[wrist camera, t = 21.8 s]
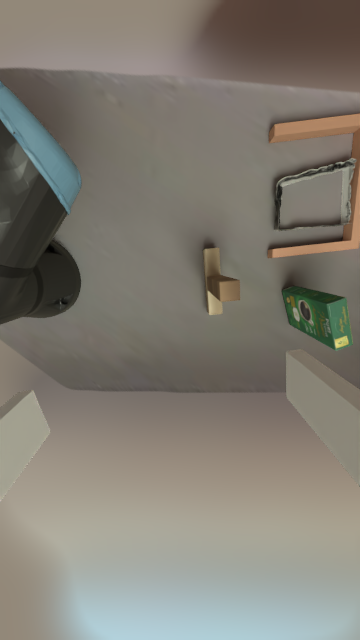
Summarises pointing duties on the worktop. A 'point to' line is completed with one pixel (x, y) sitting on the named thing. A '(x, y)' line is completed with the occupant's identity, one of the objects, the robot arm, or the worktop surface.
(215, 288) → the wooden scraper
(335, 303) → the coffee box
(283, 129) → the tile bay
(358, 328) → the worktop surface
